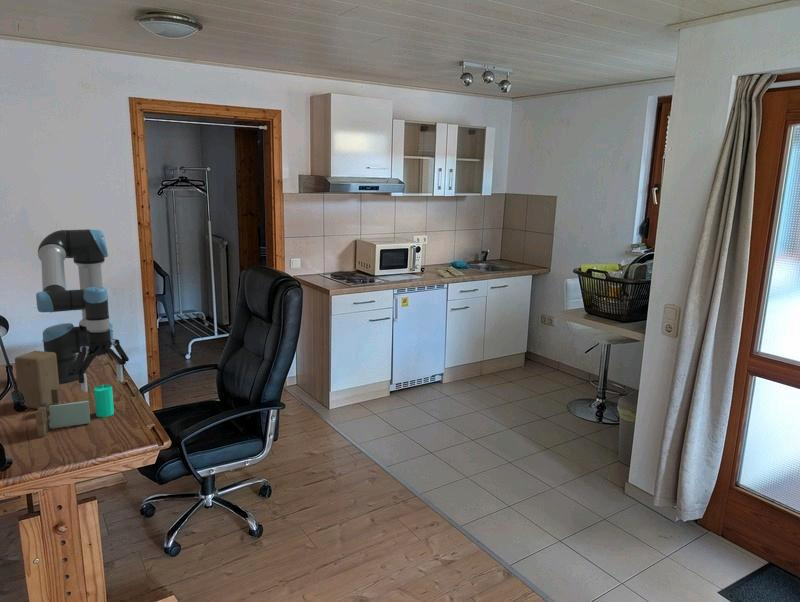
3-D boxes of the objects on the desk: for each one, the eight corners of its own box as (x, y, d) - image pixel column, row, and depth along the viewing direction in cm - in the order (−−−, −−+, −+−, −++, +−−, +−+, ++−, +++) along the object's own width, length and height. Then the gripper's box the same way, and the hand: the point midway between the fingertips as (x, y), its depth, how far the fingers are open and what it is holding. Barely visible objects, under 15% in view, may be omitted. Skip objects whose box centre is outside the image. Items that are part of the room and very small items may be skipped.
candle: (100, 410, 217) (97, 380, 214) (116, 410, 217) (114, 380, 215) (93, 417, 211) (90, 386, 208) (110, 417, 211) (107, 386, 209)
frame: (56, 409, 217) (54, 385, 215) (62, 408, 217) (60, 385, 215) (37, 437, 194) (35, 411, 192) (44, 436, 194) (41, 410, 192)
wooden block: (41, 410, 215) (36, 359, 211) (18, 407, 217) (13, 357, 213) (61, 400, 225) (57, 351, 221) (40, 397, 227) (34, 349, 223)
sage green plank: (51, 428, 200) (49, 406, 198) (51, 427, 201) (49, 405, 199) (90, 422, 205) (88, 401, 203) (90, 421, 206) (88, 400, 204)
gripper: (124, 322, 219) (128, 375, 224) (57, 335, 199) (62, 393, 203) (136, 324, 216) (140, 378, 220) (69, 338, 195) (74, 397, 199)
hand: (103, 385), depth 211 cm, fingers open, 13 cm apart
